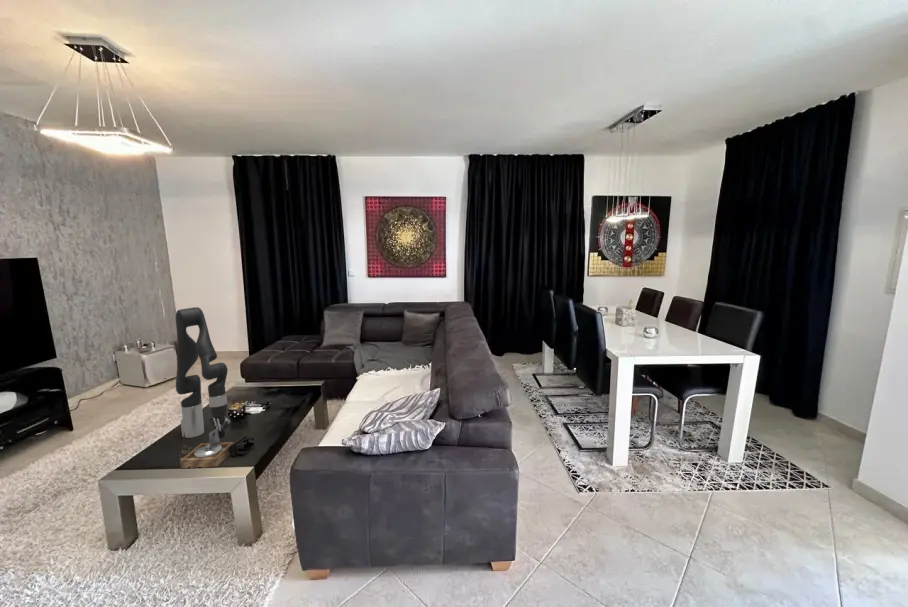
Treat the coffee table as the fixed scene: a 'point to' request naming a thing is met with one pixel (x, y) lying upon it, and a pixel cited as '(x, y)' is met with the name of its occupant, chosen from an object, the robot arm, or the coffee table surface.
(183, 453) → the eiffel tower figurine
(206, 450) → the dial
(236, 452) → the end cap
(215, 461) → the wooden square tray
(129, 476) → the coffee table surface
